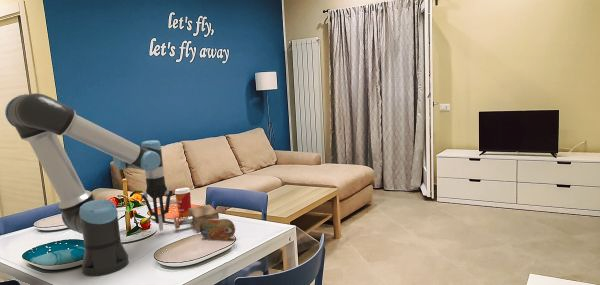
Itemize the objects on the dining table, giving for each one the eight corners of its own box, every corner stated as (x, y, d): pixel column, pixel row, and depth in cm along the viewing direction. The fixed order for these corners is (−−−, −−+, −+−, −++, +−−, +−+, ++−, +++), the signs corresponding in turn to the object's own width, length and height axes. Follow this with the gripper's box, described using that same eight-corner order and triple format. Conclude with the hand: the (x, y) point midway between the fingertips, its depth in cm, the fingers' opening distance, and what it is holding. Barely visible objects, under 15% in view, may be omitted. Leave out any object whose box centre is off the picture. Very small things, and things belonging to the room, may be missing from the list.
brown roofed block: (176, 230, 178) (175, 218, 178) (174, 226, 183) (173, 215, 182) (207, 223, 184) (206, 212, 184) (205, 220, 189) (203, 209, 188)
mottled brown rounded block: (200, 239, 169) (198, 219, 168) (204, 236, 172) (202, 217, 171) (233, 241, 164) (231, 220, 163) (237, 238, 167) (235, 218, 166)
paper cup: (176, 216, 203) (173, 188, 201) (191, 213, 206) (189, 186, 205) (178, 220, 196) (175, 192, 194) (194, 217, 199) (191, 189, 197)
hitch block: (197, 232, 177) (195, 217, 176) (189, 222, 191) (188, 208, 190) (219, 227, 181) (218, 212, 180) (211, 218, 196) (209, 204, 195)
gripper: (169, 173, 181) (175, 224, 184) (138, 177, 176) (144, 230, 179) (172, 175, 175) (178, 229, 178) (139, 180, 169) (146, 235, 172)
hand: (161, 229), depth 178 cm, fingers closed
